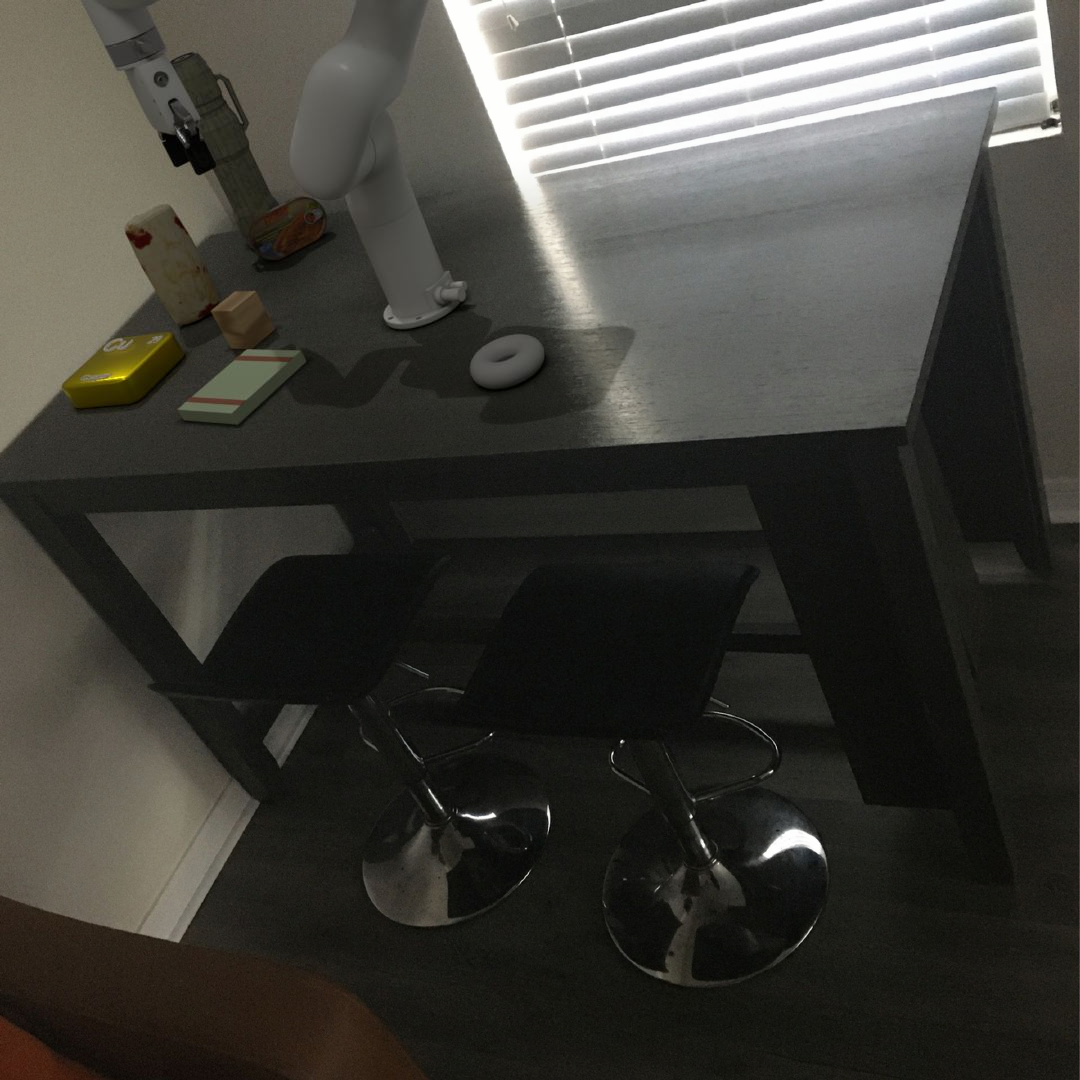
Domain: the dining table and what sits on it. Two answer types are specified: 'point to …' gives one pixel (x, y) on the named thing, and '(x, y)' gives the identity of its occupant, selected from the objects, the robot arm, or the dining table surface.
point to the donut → (507, 361)
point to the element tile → (123, 370)
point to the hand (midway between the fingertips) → (195, 167)
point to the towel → (242, 386)
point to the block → (243, 320)
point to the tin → (287, 227)
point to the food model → (172, 264)
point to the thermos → (226, 140)
